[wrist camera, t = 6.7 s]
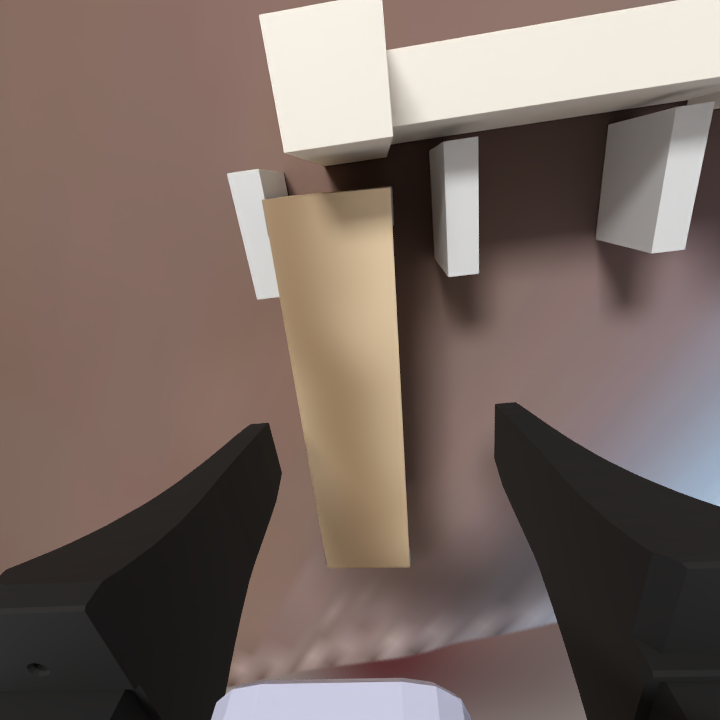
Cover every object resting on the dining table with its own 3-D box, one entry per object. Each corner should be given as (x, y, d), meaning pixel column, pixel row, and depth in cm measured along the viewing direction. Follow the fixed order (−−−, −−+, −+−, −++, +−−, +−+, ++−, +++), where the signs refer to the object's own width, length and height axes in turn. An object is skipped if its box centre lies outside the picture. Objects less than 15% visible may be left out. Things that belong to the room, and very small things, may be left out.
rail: (389, 186, 15) (392, 187, 11) (405, 485, 21) (411, 567, 17) (296, 195, 16) (260, 199, 11) (338, 487, 22) (326, 568, 17)
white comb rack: (869, 0, 12) (1393, -195, 6) (802, 214, 15) (1119, 236, 9) (243, 103, 14) (133, 38, 8) (280, 277, 17) (220, 334, 10)
